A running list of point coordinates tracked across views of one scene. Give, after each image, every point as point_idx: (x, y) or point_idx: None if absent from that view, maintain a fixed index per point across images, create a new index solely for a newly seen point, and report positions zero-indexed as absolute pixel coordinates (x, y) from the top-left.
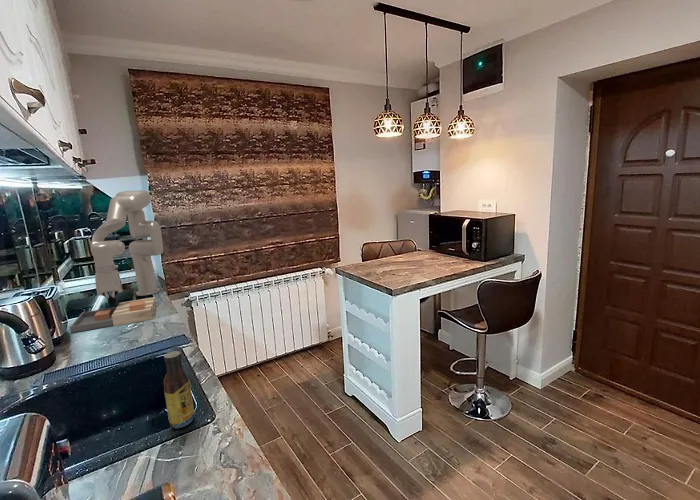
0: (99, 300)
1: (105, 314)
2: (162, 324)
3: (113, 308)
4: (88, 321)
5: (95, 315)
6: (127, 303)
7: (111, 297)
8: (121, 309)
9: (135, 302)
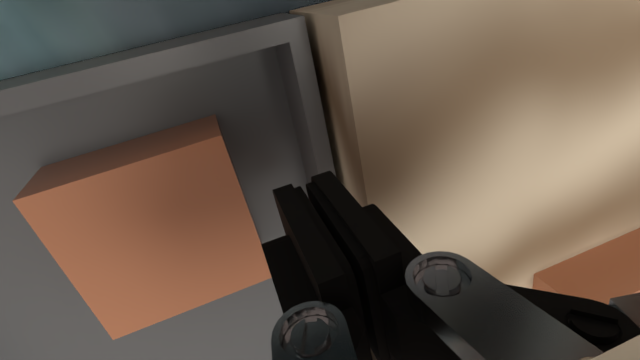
0: None
1: (237, 285)
2: None
3: (216, 58)
4: (41, 308)
5: (126, 331)
6: (474, 115)
7: (357, 296)
8: None
9: None
